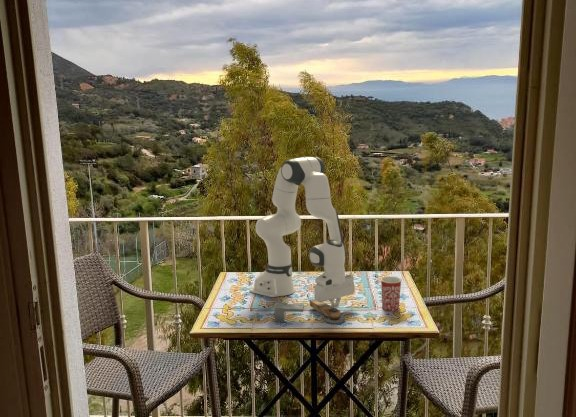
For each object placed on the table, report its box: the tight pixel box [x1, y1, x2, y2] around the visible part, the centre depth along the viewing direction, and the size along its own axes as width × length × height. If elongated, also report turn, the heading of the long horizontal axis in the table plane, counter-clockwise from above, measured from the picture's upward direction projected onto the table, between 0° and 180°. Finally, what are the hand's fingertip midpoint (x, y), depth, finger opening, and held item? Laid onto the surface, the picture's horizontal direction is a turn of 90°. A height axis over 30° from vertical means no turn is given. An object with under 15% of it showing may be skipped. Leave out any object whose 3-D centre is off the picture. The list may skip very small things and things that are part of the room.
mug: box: [380, 276, 403, 312], centre depth 236 cm, size 13×9×14 cm
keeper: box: [273, 301, 305, 323], centre depth 225 cm, size 12×7×6 cm, turn 84°
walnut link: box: [309, 298, 341, 320], centre depth 230 cm, size 20×5×4 cm, turn 29°
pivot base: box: [323, 314, 346, 325], centre depth 224 cm, size 9×9×1 cm
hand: (335, 307), depth 234 cm, fingers closed
